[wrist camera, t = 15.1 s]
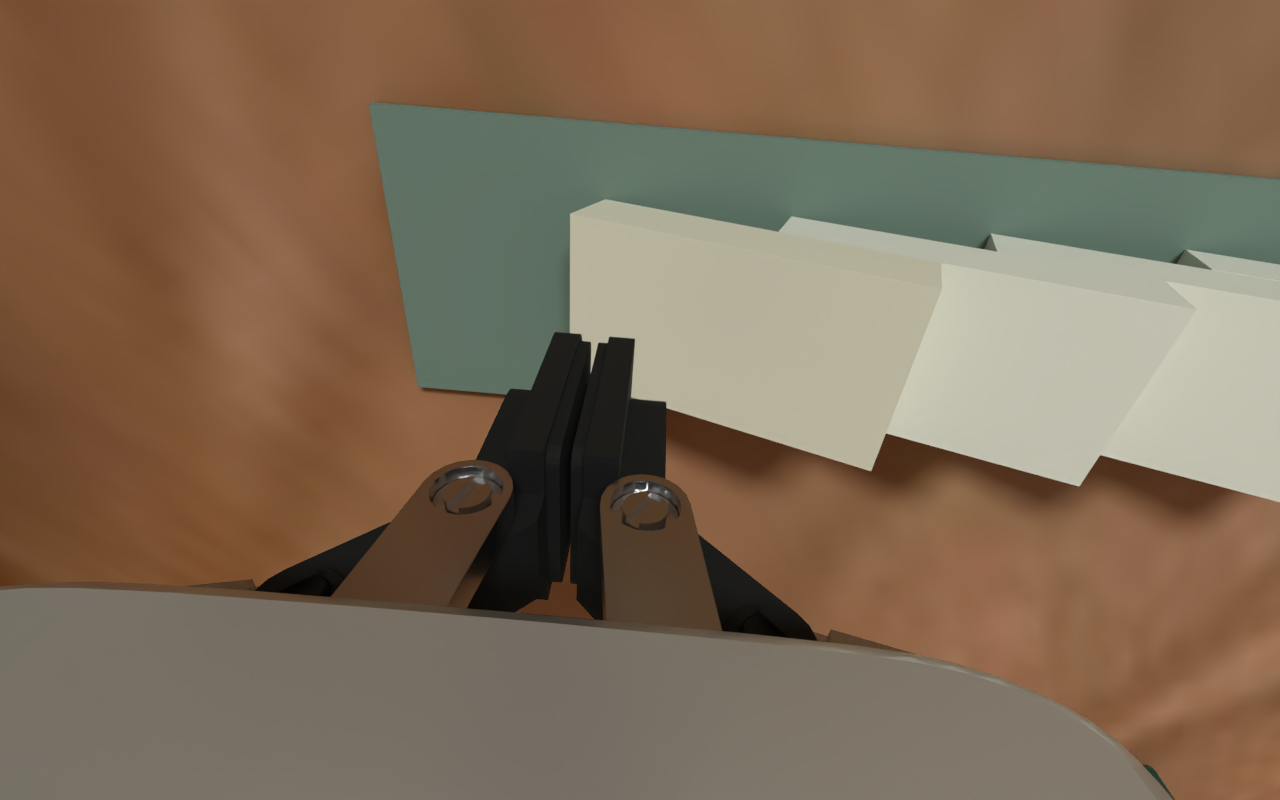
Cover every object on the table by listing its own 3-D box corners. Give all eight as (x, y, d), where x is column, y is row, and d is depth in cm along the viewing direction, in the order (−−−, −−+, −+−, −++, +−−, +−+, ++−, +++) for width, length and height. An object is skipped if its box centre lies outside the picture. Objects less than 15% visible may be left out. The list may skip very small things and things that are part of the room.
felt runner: (422, 381, 20) (417, 386, 20) (375, 102, 15) (369, 103, 15) (1300, 456, 20) (1311, 463, 20) (1535, 200, 15) (1555, 203, 15)
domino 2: (744, 394, 17) (1079, 486, 14) (777, 233, 14) (1197, 309, 12) (759, 366, 19) (1063, 445, 16) (791, 216, 16) (1164, 280, 13)
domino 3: (929, 410, 17) (1300, 507, 14) (997, 251, 14) (1471, 334, 12) (929, 381, 19) (1264, 464, 16) (990, 233, 16) (1406, 302, 13)
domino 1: (569, 378, 17) (870, 471, 14) (570, 213, 14) (942, 289, 12) (600, 352, 19) (877, 431, 16) (605, 199, 16) (941, 262, 13)
